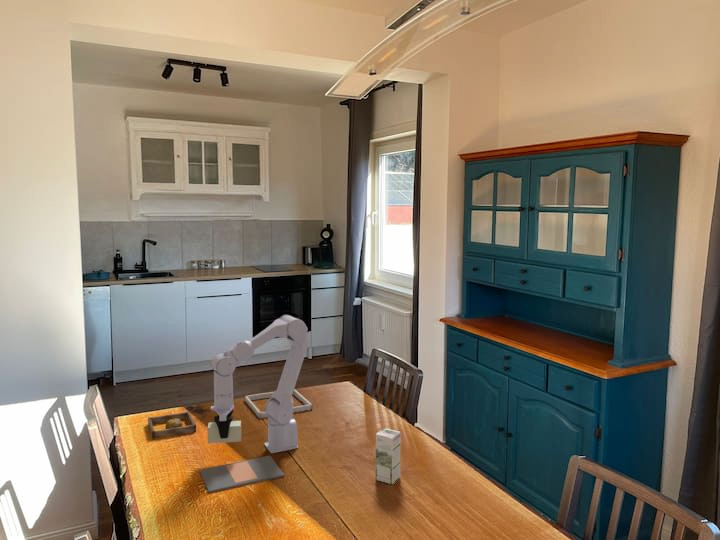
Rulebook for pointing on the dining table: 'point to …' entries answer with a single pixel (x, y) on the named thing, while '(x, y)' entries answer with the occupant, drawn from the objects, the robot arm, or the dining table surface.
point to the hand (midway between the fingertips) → (224, 434)
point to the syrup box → (388, 455)
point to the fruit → (174, 423)
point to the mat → (240, 473)
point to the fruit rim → (172, 431)
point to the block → (232, 436)
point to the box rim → (267, 395)
